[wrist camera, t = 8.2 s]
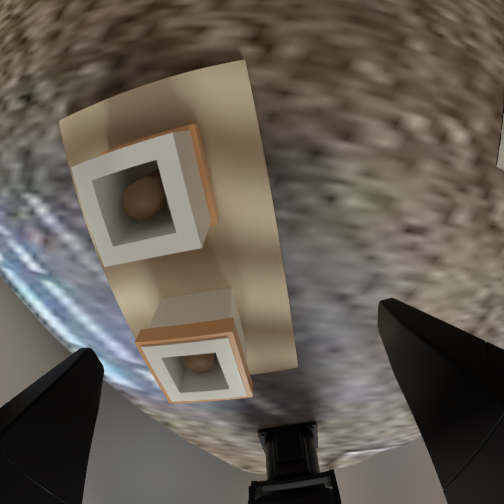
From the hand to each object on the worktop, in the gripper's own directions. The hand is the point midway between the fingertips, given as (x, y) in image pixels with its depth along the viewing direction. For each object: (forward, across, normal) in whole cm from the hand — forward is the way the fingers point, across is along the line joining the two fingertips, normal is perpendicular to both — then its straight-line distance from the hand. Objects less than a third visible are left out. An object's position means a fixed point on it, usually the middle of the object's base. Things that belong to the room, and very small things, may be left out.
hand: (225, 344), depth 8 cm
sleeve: (+10, +4, -4) cm, 11 cm away
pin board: (+12, +4, +1) cm, 12 cm away
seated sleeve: (+10, +4, +6) cm, 13 cm away
